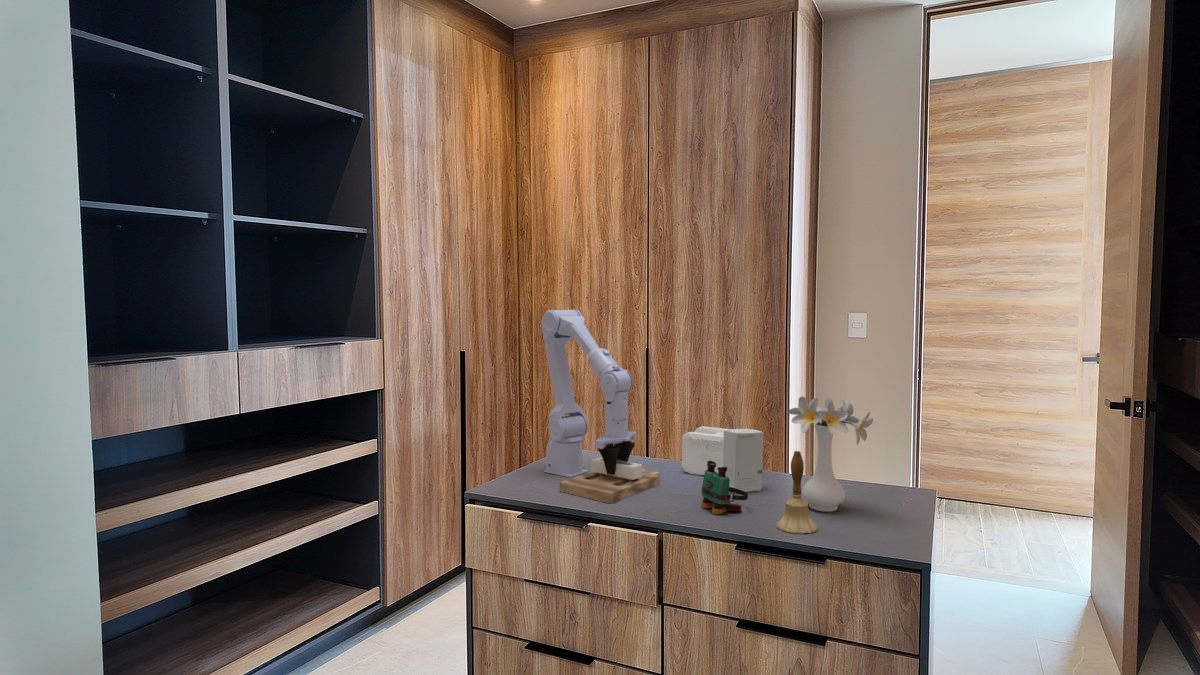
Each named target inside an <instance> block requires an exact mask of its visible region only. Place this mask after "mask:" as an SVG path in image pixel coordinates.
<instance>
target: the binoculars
mask: <svg viewBox="0 0 1200 675" xmlns="http://www.w3.org/2000/svg"><path fill="white" fill-rule="evenodd" d="M707 466H708V470H705V473H704V475H703V480H702V486H701V496H702V497H703V498H702V499H703V500H702V501H701V502H700V507H701V508H703V509H709V508H710V509H711V514H713V515H721V514H724V513H725V511H733V512H741V511H742V505H740V504H737V503H736V504H735V503H734V501H747V500H748V498H749V492H745V491H742V490H739V489H736V488H732V487H729V484H730V478H729V477H727V476H725V474H726V471H727V467H718V473H717V472H715V467H716V463H715V462H713V461H707ZM733 492H734V493H733ZM737 494H738V495H737ZM731 495H732V496H731Z"/></svg>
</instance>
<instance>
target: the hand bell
mask: <svg viewBox="0 0 1200 675" xmlns="http://www.w3.org/2000/svg"><path fill="white" fill-rule="evenodd" d="M801 453H802V452H801V451H798V450H795V451H794V452H793V455H792V458H791V462H790V474H791V477H792V497H791V498H790V499H787V501H786V502H785V506H784V511H783V515H782V517H781V518H780V519H779V520H778V521H777V522H776V525H775V526H776V528H777V529H778V528H779V529H778V530H780V531H782V530H783V532H785V531H786V532H785V533H789V532H790V534H795V533H797V535H798V534H801V535H805V534H804V533H809V534H812V533H815V531H816V532H817V531H818V526H817V524H816V523H815V522H814V521H813V519H812V517H811V515H810V509H809V508H810V507H809V502H807V501H806V500H805V499H803V498H802V479H803V475H804V468H805V467H804V460H803V457H802V454H801Z"/></svg>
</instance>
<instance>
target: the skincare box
mask: <svg viewBox="0 0 1200 675" xmlns="http://www.w3.org/2000/svg"><path fill="white" fill-rule="evenodd" d="M729 429H730V428H729ZM763 457H764V431H761V430H758V429H753V428H734V429H732V428H731V429H730V430H724V450H723V467H727V471H726V474H725V476H727V477H729V478H730V484H729V487H732V488H736V489H739V490H742V491H745V492H746V493H749V492H760V491H763V468H764V466H763V462H764V460H763V459H764V458H763ZM732 493H734V492H732ZM734 494H735V493H734Z"/></svg>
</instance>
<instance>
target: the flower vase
mask: <svg viewBox="0 0 1200 675" xmlns="http://www.w3.org/2000/svg"><path fill="white" fill-rule="evenodd" d="M818 401H819V398H818V397H815V398H813V399H811V400H810V402H808V400H807V398H806V397H805V396H800V397H799V398H798V407H792V408H790V409H789V410H788V412H787V413H788V414H790V415H793V417H792V418H791V423H793V424H795V425H796V424H802V425H801V427H800V428H801V432H802V433H806V432H808V430H809V428H810V426H811V425H812V424H814V428H815V430H816V436H817V454H816V455H817V456H816V466H815V470H814V473H813V474H812V476H811V478H810V479H809V480H807V482H806V483H805V484H804V486H803V488H802V489H801V495H802V496H803V498H804V501H806V502H807V503H808V508H810V509H812V510H813V509H814V511H819V512H823V513H825V512H826V513H827V512H829V513H831V512H832V513H833V512H836V511H837V510H838V506H839V505H841V504H842V503H843V502H844V501H845V498H846V491H845V489H844V488H843V486H842V485H841V483H840V482H839V480H837V478H836V476H835V474H834V470H833V465H832V464H833V462H832V461H833V458H832V456H833V455H832V444H833V443H832V442H833V437H834V433H835V432H836V429H838V430H839V431H841V432H843V433H845V434H846V433H849V432H850V431H849V428H848V426H847V425H851V426H853V427H854V430H855V435H856V436H855V437H856V446H858V445H859V443H860V440H861V439H862V440H863V441H864V442H865V441H867V439H868V438H867V437H868V434H867V433H868V432H867V431H866V429H865V428H869V427H870V426H871V425H872V424H873V422H874V418H869V417H870V414H871V412H870V411H869V412H868V413H866V414H865V416H863V417H862V418H861V419H859V418H858V417H857V416H855V415H854V407H853V404H852V403H850V402H849V403H848V405H847V404H846V402H845V400H844V399H842V405H839V406H836V407H835V405H834V402H833V400H832V398H831V397H826V398H825V401H824V406H825V407H824V408H823V407H819V402H818Z"/></svg>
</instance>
